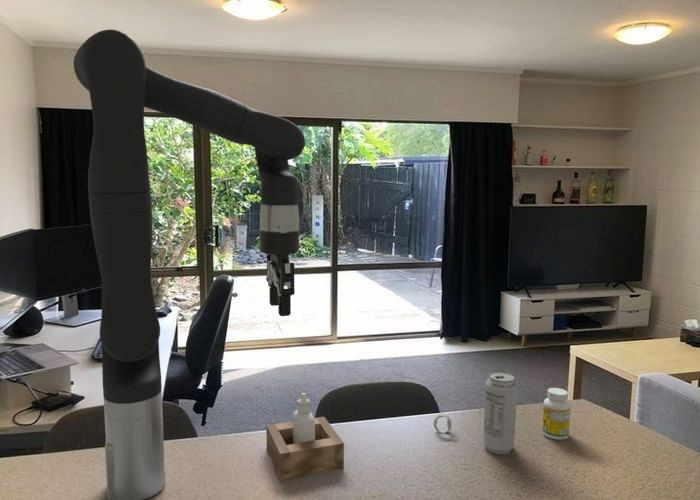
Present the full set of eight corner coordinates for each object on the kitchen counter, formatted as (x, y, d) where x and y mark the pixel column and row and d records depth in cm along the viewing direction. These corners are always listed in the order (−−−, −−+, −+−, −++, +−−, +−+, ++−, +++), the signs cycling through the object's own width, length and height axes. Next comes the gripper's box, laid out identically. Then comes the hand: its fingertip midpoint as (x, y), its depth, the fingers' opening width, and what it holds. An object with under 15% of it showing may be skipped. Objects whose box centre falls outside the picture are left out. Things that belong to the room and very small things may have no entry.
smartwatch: (433, 433, 118) (434, 415, 117) (432, 429, 120) (433, 411, 119) (450, 434, 118) (451, 416, 117) (449, 429, 120) (450, 412, 119)
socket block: (280, 480, 99) (280, 453, 99) (266, 449, 111) (266, 425, 110) (343, 468, 104) (343, 443, 103) (324, 439, 115) (324, 416, 114)
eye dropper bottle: (315, 446, 110) (315, 388, 108) (314, 460, 104) (314, 399, 103) (293, 446, 110) (293, 388, 108) (291, 460, 104) (290, 399, 102)
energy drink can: (520, 452, 110) (524, 379, 108) (494, 457, 108) (498, 383, 106) (501, 438, 116) (504, 369, 114) (476, 443, 114) (479, 373, 112)
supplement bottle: (568, 442, 115) (571, 397, 113) (541, 437, 116) (544, 394, 115) (568, 431, 120) (571, 388, 118) (542, 427, 121) (544, 385, 120)
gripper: (253, 225, 112) (254, 303, 115) (267, 232, 99) (267, 320, 101) (290, 224, 115) (289, 301, 117) (308, 231, 102) (307, 317, 104)
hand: (279, 310), depth 109 cm, fingers open, 8 cm apart
